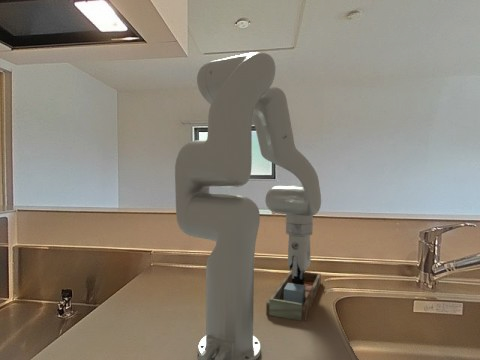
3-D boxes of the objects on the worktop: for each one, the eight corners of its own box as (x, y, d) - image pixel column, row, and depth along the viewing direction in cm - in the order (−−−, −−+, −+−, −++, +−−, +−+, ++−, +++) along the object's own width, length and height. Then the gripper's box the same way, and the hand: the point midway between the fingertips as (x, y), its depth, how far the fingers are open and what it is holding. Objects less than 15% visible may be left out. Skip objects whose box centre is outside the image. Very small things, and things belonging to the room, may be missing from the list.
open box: (304, 321, 79) (304, 305, 79) (266, 314, 83) (266, 298, 83) (320, 283, 105) (320, 270, 105) (290, 278, 108) (291, 267, 108)
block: (301, 306, 88) (302, 291, 87) (283, 303, 89) (283, 288, 89) (305, 299, 92) (305, 285, 92) (287, 296, 94) (287, 282, 94)
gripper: (307, 234, 86) (306, 303, 87) (316, 224, 100) (315, 284, 101) (279, 232, 89) (278, 299, 90) (291, 223, 103) (290, 280, 104)
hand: (297, 291), depth 95 cm, fingers closed
